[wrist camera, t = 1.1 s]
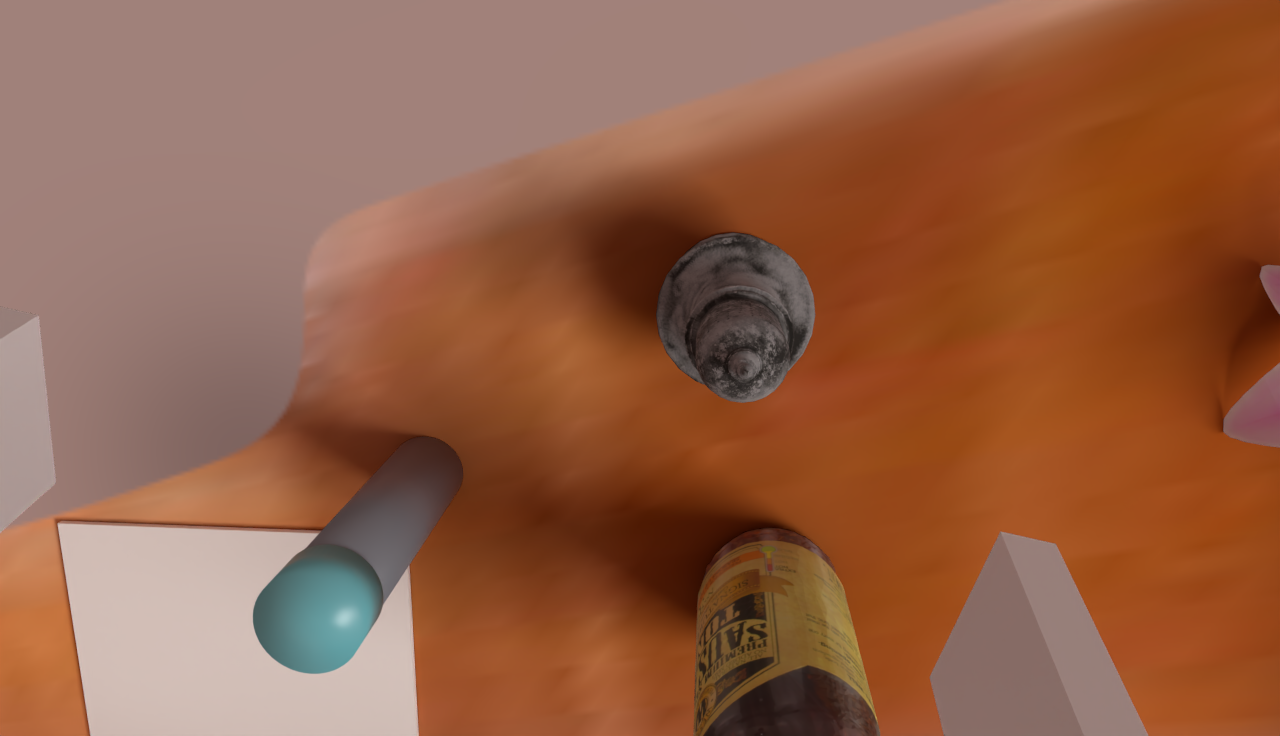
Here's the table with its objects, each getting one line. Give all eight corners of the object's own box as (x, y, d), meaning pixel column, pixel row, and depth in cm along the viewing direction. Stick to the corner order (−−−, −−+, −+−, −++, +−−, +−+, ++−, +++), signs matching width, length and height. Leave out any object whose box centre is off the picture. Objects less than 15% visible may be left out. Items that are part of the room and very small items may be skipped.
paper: (420, 765, 45) (418, 770, 45) (96, 748, 46) (93, 752, 46) (407, 533, 42) (405, 536, 42) (61, 520, 43) (57, 523, 43)
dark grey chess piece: (659, 225, 38) (641, 270, 26) (807, 224, 38) (854, 271, 26) (660, 366, 40) (643, 469, 28) (802, 368, 39) (845, 472, 28)
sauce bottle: (731, 499, 41) (758, 835, 22) (864, 553, 41) (1006, 934, 22) (672, 623, 42) (648, 1038, 23) (800, 675, 43) (880, 1127, 24)
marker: (466, 509, 42) (365, 676, 29) (390, 506, 42) (258, 671, 29) (463, 435, 41) (358, 575, 28) (386, 433, 41) (247, 571, 28)
